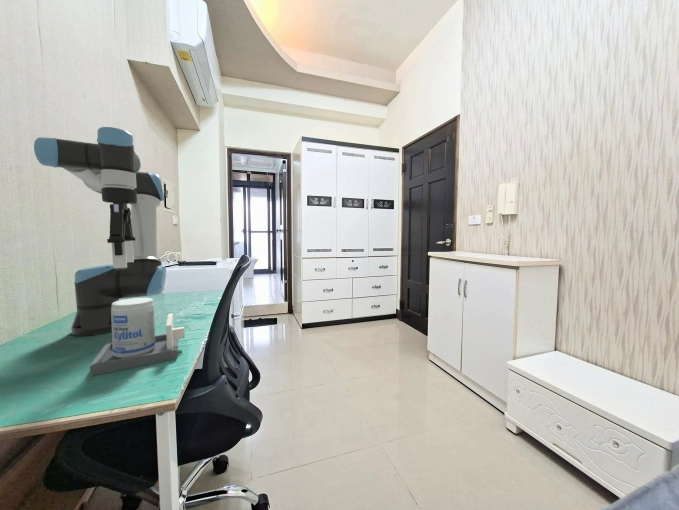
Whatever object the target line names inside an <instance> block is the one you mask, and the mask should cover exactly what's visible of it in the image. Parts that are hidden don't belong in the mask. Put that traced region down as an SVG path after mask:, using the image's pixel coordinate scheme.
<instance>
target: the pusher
mask: <svg viewBox="0 0 679 510" xmlns="http://www.w3.org/2000/svg"><path fill="white" fill-rule="evenodd" d="M174 325H175V324H174V313H168V314H167V319H166V325H165V327H166V328H165V332H166V333H165V334H166V336H167V350H170V349H173V344H174V340H176V339H178V340H180V339H185V337H186V335H185V326H182V327H181V326H179V327H175V326H174Z"/></svg>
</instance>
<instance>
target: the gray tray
mask: <svg viewBox="0 0 679 510" xmlns="http://www.w3.org/2000/svg"><path fill="white" fill-rule="evenodd" d="M178 353H179V339H176V340H174V344H173V349H170V350H167V336H166V333H163V334H157V335H156V334H155V348H154V349H153V350H152V351H150V352H148V353H146V354H143V355H138V356H133V357H127V358H117V357H115V356H114V355H113V347H112V342H106V343H105V344H104V346H103V347H102V349H101V350H100V351H99V353H98V354H97V355H96V357H95V358H94V360H93V361H92V362H91V364H90V365H89V369H90V370H89V373H90V377H92V376H96V375H101V374H107V373H111V372H115V371H117V372H118V371H121V370H126V369H130V368H132V369H133V368H137V367H141V366H146V365H147V366H148V365H151V364H156V363H161V362H167V361H172V360H177V359H178V355H179V354H178Z"/></svg>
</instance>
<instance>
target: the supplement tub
mask: <svg viewBox="0 0 679 510" xmlns="http://www.w3.org/2000/svg"><path fill="white" fill-rule="evenodd" d="M111 323H112V331H111V338H112V339H111V341H112V347H113V355H114V356H115V357H117V358H127V357H133V356H138V355H143V354H146V353H148V352H150V351H152V350H153V349H154V348H155V335H156V328H155V326H156V325H155V303H154V299H153V298H152V297H132V298H124V299H119V301H116V302H113V303H112V308H111Z"/></svg>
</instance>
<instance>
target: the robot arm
mask: <svg viewBox="0 0 679 510" xmlns="http://www.w3.org/2000/svg"><path fill="white" fill-rule="evenodd" d="M96 136H97V139H96V142H97V143H93V142H85V141H84V142H83V141H76V140H68V139H64V138H63V139H61V138H56V137H42V136H41V137H37V138H36V139H35V140H34V143H33V149H34V150H33V151H34V154H35V158H36V160H37V161H38V163H40V164H41V165H42V166H46V167H52V168H62V169H64V170H66V171H67V172H69V174H70V173H71V174H72V175H73V176H75V177H76V178H78V179H79V180H81V181H82V182H83V184H84V185H85V186H86V187H87V188H88V189H90V190H92V191H93V192H96V193H98V194H101V200H102V202H104V203H108V204H109V211H110V212H109V213H110V215H109V237H108V238H107V239H106V240H107V244H111V251H112V252H111V253H112V255H111V256H112V264H104V265H96V266H90V267H86V268H80V269H78V270H77V271H76V272H75V273H74V283H73V285H74V289H75V290H74V293H75V303H76V313H75V316H74V319H73V322H72V325H71V327H70V332H71V335H72V336H74V337H75V336H76V337H80V336H82V337H85V336H94V335H95V336H96V335H100V334H105V333H106V334H107V333H110V332H112V323H111V308H112V303H113V302H116V301H120V300H122V299H132V298H143V297H150V296H158V295H159V296H160V295H161V294H162V293H163V292H164V288H165V285H166V278H167V267H166V265H163V264H162V261H161V260H160V259H158V239H157V237H158V236H157V235H158V233H157V229H158V228H157V225H158V224H157V208H158V207H159V206H161V202H163V201H165V196H164V189H163V185H162V181H161V180H162V179H161V176H160V175H159V174H157V173H153V172H149V171H147V172H142V171H140V169H141V167H142V164H141V159H140V157H139V155H138V154H136V152H135V142H134V136H133V135H132V133H130V132H129V131H127V130H125V129H121V128H117V127H114V126H113V127H112V126H111V127H110V126H100V127H99V128H98V129H97V135H96ZM128 204H129V205H130V206H131V207H128Z"/></svg>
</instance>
